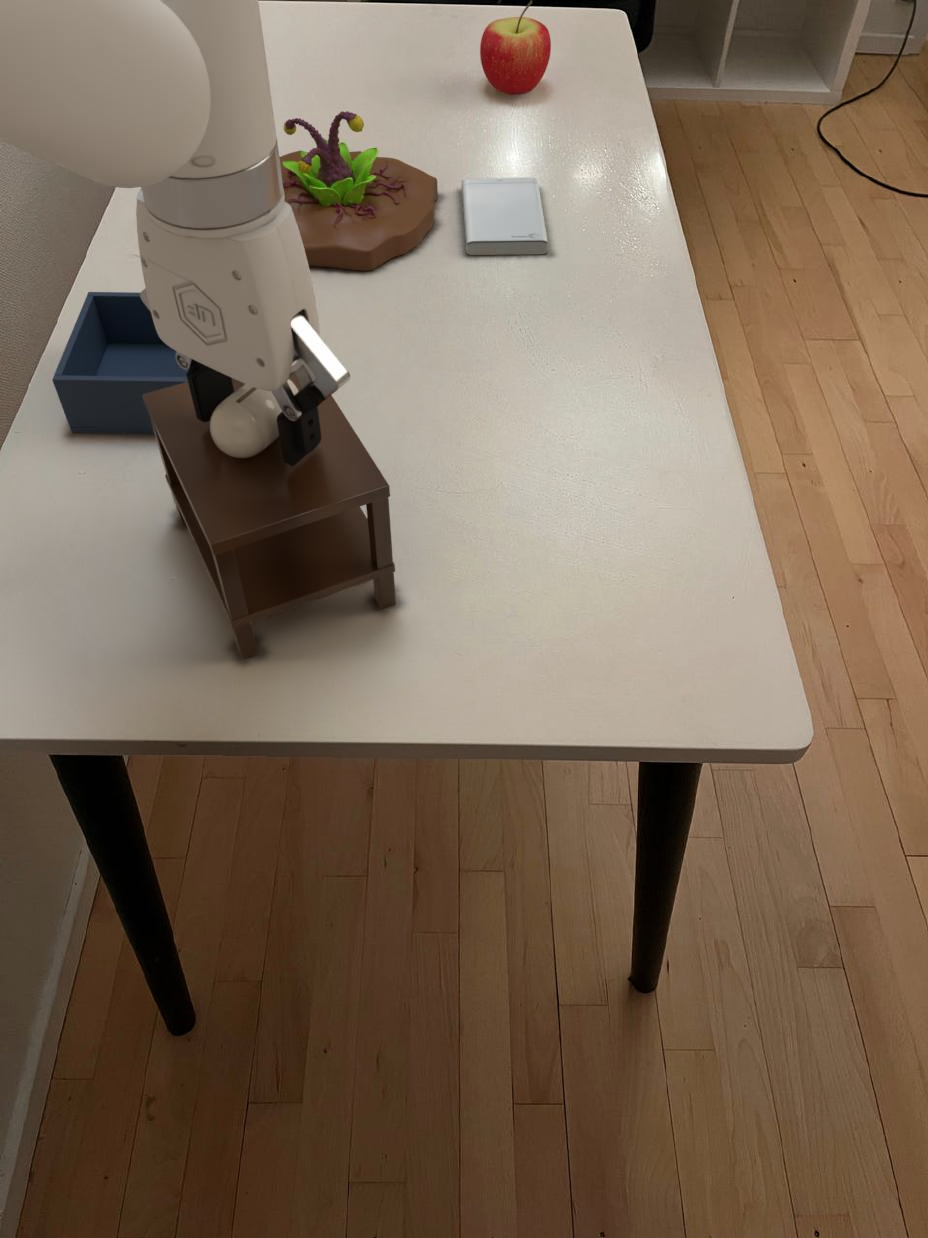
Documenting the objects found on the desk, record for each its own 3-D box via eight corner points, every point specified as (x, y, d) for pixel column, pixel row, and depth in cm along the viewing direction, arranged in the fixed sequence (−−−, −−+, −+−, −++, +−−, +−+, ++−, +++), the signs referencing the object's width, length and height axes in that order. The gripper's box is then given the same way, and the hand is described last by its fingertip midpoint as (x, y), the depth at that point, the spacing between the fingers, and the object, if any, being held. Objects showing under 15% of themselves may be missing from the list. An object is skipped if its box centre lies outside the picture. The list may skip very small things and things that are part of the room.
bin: (215, 435, 89) (203, 381, 85) (71, 432, 89) (51, 379, 85) (237, 346, 97) (226, 293, 93) (104, 344, 97) (88, 291, 93)
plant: (394, 287, 103) (388, 177, 94) (213, 250, 107) (191, 142, 98) (459, 186, 115) (460, 81, 106) (294, 157, 119) (282, 52, 110)
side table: (241, 661, 74) (210, 544, 65) (176, 515, 83) (141, 394, 74) (397, 604, 78) (389, 485, 68) (318, 469, 87) (302, 348, 77)
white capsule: (248, 479, 69) (238, 431, 66) (202, 455, 70) (191, 408, 67) (316, 420, 72) (310, 373, 69) (271, 399, 74) (263, 351, 71)
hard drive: (548, 239, 106) (537, 175, 113) (466, 241, 105) (461, 176, 113) (547, 254, 107) (536, 190, 115) (466, 256, 107) (461, 191, 114)
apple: (556, 101, 128) (563, 12, 120) (488, 108, 126) (490, 19, 119) (538, 71, 133) (543, -16, 125) (472, 78, 131) (473, -10, 124)
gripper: (46, 159, 58) (125, 413, 72) (291, 260, 52) (326, 516, 66) (144, 106, 62) (201, 357, 76) (382, 194, 56) (397, 449, 70)
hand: (259, 429), depth 71 cm, fingers open, 6 cm apart
